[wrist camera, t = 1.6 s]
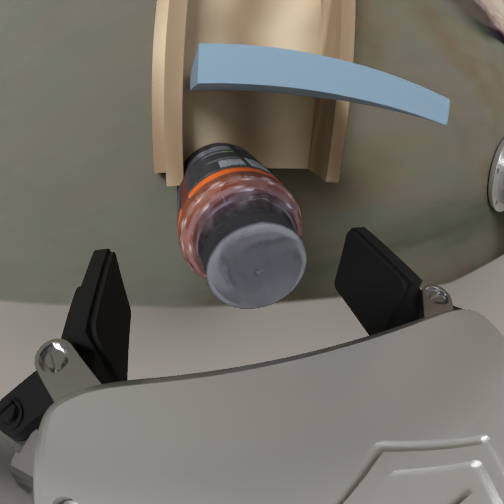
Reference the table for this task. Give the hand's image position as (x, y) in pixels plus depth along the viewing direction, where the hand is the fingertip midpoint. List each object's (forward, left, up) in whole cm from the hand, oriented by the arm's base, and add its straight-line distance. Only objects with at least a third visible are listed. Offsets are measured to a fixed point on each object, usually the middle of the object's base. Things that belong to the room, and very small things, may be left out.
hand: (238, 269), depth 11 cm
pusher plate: (-3, -7, -10) cm, 12 cm away
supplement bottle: (-1, 0, -11) cm, 11 cm away
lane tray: (-3, -13, -11) cm, 17 cm away
